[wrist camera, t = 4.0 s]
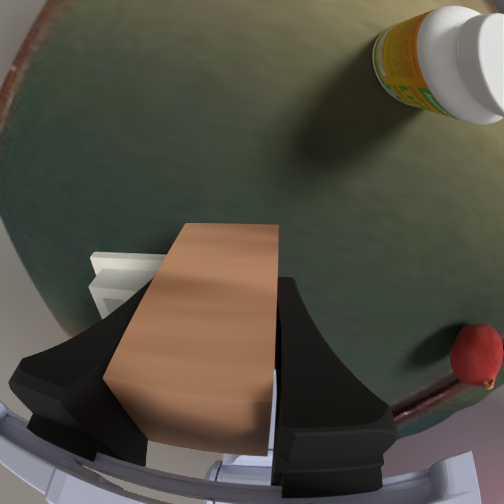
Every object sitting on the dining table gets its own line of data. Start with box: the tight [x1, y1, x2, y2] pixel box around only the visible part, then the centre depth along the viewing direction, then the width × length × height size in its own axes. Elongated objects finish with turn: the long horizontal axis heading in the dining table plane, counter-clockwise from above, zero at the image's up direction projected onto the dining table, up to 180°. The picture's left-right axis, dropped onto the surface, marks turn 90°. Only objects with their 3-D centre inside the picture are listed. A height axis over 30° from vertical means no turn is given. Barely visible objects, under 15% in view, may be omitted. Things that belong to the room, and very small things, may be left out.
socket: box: [89, 252, 166, 319], centre depth 23 cm, size 10×10×3 cm
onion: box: [450, 324, 503, 390], centre depth 20 cm, size 6×6×8 cm
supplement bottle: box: [372, 6, 504, 125], centre depth 9 cm, size 5×5×10 cm
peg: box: [103, 223, 279, 457], centre depth 10 cm, size 4×4×8 cm
